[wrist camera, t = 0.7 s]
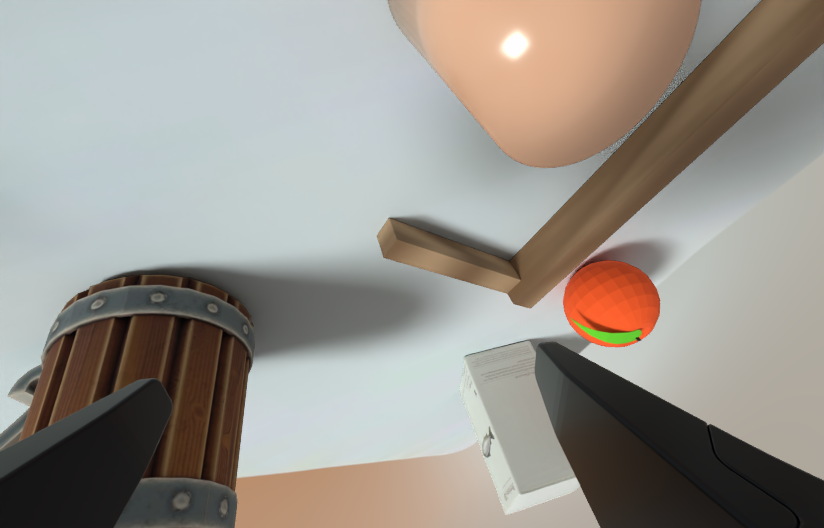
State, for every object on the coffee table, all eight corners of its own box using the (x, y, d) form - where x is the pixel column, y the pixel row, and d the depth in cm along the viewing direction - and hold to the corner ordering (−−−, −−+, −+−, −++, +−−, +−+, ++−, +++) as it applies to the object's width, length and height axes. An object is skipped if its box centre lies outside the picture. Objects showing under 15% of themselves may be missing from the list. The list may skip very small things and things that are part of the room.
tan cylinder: (362, 7, 15) (438, 115, 9) (436, -150, 13) (626, -169, 6) (457, 73, 18) (570, 193, 12) (533, -45, 16) (735, 21, 9)
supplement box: (462, 355, 38) (519, 496, 29) (530, 338, 39) (605, 468, 31) (456, 389, 43) (504, 517, 35) (517, 373, 45) (577, 493, 36)
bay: (376, 235, 24) (387, 269, 22) (799, -378, 12) (913, -430, 10) (513, 280, 31) (530, 308, 29) (865, -69, 19) (938, -61, 17)
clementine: (525, 303, 34) (567, 374, 29) (559, 244, 30) (616, 317, 25) (596, 296, 37) (646, 360, 32) (638, 240, 32) (704, 306, 27)
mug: (205, 245, 21) (154, 585, 11) (279, 343, 29) (288, 596, 19) (-96, 328, 20) (-460, 798, 10) (66, 408, 28) (-46, 716, 18)
